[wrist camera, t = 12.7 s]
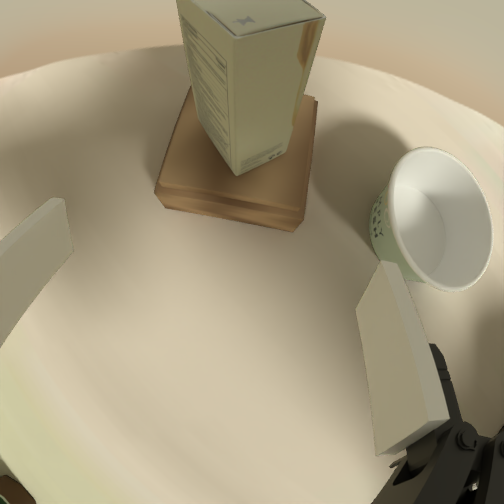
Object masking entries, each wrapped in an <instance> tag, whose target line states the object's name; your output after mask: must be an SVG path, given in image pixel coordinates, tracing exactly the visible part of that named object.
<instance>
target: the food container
mask: <svg viewBox="0 0 504 504" xmlns="http://www.w3.org/2000/svg"><path fill="white" fill-rule="evenodd" d="M369 232H370V238H371V242H372V246H373V248H374V251H375V253H376V255H377V257H378V258H379V260H384V261H388V262H393V263H397V264H398V267H399V269H400V271H401V273H402V276H403V278H404V279H407V280H412V281H418V282H423V283H427V284H429V285H431V286H432V287H434V288H436V289H439V290H442V291H446V292H458V291H462V290H465V289H467V288H469V287H471V286H472V285H474V284H475V283H476V282H477V281H478V280H479V279H480V278H481V276H482V275H483V273H484V272H485V270H486V268H487V266H488V263H489V260H490V257H491V253H492V248H493V222H492V216H491V212H490V208H489V205H488V202H487V199H486V196H485V194H484V192H483V190H482V188H481V186H480V184H479V183H478V181H477V179H476V178H475V177H474V175H473V174H472V173H471V171H470V170H469V169H468V168H467V167H466V166H465V165H464V164H463V163H462V162H461V161H460V160H459V159H457V158H456V157H455V156H453V155H451V154H450V153H448V152H446V151H444V150H441V149H438V148H434V147H419V148H415V149H413V150H410V151H409V152H407V153H406V154H404V155H403V156H402V157H401V158H400V159H399V161H398V162H397V163H396V165H395V167H394V169H393V171H392V174H391V177H390V181H389V183H388V185H387V186H386V187H385V189H384V190H383V192H382V193H381V194H380V196H379V197H378V199H377V200H376V202H375V203H374V205H373V207H372V210H371V214H370V219H369Z"/></svg>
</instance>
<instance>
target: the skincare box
mask: <svg viewBox="0 0 504 504" xmlns="http://www.w3.org/2000/svg"><path fill="white" fill-rule="evenodd" d="M176 2H177V8H178V14H179V19H180V25H181V31H182V37H183V43H184V48H185V54H186V59H187V64H188V70H189V75H190V80H191V85H192V91H193V96H194V101H195V106H196V111H197V116H198V119H199V121H200V123H201V125H202V126H203V128H204V129H205V131H206V133H207V134H208V136H209V137H210V139H211V141H212V142H213V144H214V145H215V147H216V148H217V150H218V151H219V153H220V154H221V156H222V157H223V159H224V160H225V162H226V163H227V164H228V166H229V167H230V169H231V170H232V171H233V173H234V174H235V176H239V175H241V174H243V173H245V172H247V171H249V170H252V169H254V168H256V167H258V166H260V165H262V164H264V163H266V162H268V161H270V160H272V159H274V158H276V157H278V156H280V155H282V154H284V153H285V152H286V150H287V147H288V144H289V140H290V137H291V134H292V131H293V127H294V124H295V121H296V117H297V114H298V110H299V107H300V104H301V101H302V97H303V94H304V90H305V87H306V84H307V81H308V77H309V74H310V70H311V67H312V64H313V60H314V57H315V53H316V50H317V47H318V43H319V40H320V37H321V33H322V30H323V26H324V23H325V20H326V16H325V15H324V14H322V13H321V12H320V11H319V10H318V9H316V8H315V7H314V6H312V5H311V4H310V3H308V2H307V1H306V0H176Z"/></svg>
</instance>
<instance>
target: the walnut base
mask: <svg viewBox="0 0 504 504" xmlns="http://www.w3.org/2000/svg"><path fill="white" fill-rule="evenodd" d="M314 98H315V97H312V96H308V95H304V94H303V97H302V101H301V104H300V107H299V110H298V114H297V117H296V121H295V124H294V127H293V131H292V134H291V137H290V140H289V144H288V147H287V150H286V152H285V153H284V154H282V155H280V156H278V157H276V158H274V159H272V160H270V161H268V162H266V163H264V164H262V165H260V166H258V167H256V168H254V169H252V170H249V171H247V172H245V173H243V174H241V175H239V176H235V174H234V173H233V171H232V170H231V169H230V167H229V166H228V164H227V163H226V162H225V160H224V159H223V157H222V156H221V154H220V153H219V151H218V150H217V148H216V147H215V145H214V144H213V142H212V141H211V139H210V137H209V136H208V134H207V133H206V131H205V129H204V128H203V126H202V125H201V123H200V121H199V119H198V116H197V111H196V106H195V101H194V96H193V91H192V85H191V86H190V89H189V91H188V94H187V96H186V99H185V101H184V104H183V106H182V109H181V112H180V114H179V117H178V120H177V123H176V125H175V128H174V131H173V134H172V137H171V139H170V142H169V145H168V148H167V151H166V154H165V157H164V160H163V164H162V167H161V170H160V173H159V176H158V180H157V183H156V186H155V190H154V193H155V194H156V196H157V197H158V199H159V200H160V201H161V203H162V204H163V205H164V207H165V208H167V209H173V210H179V211H185V212H190V213H196V214H201V215H207V216H212V217H218V218H223V219H228V220H234V221H239V222H244V223H249V224H254V225H259V226H265V227H270V228H275V229H280V230H285V231H290V232H293V231H294V230H295V229H296V228H297V227H298V226H299V225H300V223H301V222H302V221H303V220H304V214H305V207H306V199H307V192H308V184H309V177H310V169H311V161H312V152H313V143H314V135H315V125H316V116H317V105H318V101H315V100H314Z"/></svg>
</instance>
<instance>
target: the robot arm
mask: <svg viewBox="0 0 504 504" xmlns="http://www.w3.org/2000/svg"><path fill="white" fill-rule="evenodd" d="M73 252H74V249H73V244H72V239H71V234H70V229H69V223H68V217H67V211H66V205H65V199H62V198H56V197H52V198H50V199H49V200H48V201H47V202H45V203H44V204H43V205H42V206H40V207H39V208H38V209H37V210H35V211H34V212H33V213H32V214H31V215H29V216H28V217H27V218H26V219H25V220H23V221H22V222H21V223H20V224H19V225H18V226H17V227H15V228H14V229H13V230H12V231H11V232H10V233H9V234H8V235H7V236H5V237H4V238H3V239H2V240H1V241H0V348H1V346H2V345H3V343H4V342H5V340H6V338H7V337H8V335H9V334H10V333H11V331H12V330H13V328H14V327H15V325H16V324H17V322H18V321H19V320H20V318H21V317H22V315H23V314H24V313H25V311H26V310H27V309H28V307H29V306H30V304H31V303H32V302H33V300H34V299H35V298H36V297H37V295H38V294H39V293H40V291H41V290H42V289H43V288H44V286H45V285H46V284H47V283H48V281H49V280H50V279H51V278H52V276H53V275H54V274H55V273H56V272H57V270H58V269H59V268H60V267H61V266H62V264H63V263H64V262H65V261H66V260H67V259H68V258H69V256H70V255H71V254H72V253H73ZM355 311H356V316H357V321H358V327H359V332H360V338H361V343H362V349H363V355H364V361H365V367H366V374H367V381H368V388H369V396H370V403H371V412H372V421H373V431H374V441H375V454H376V456H383V455H394V454H397V453H399V452H400V451H402V450H404V449H405V448H406V451H407V455H406V456H404V457H402V458H401V459H399V460H397V461H395V462H393V463H392V464H391V465H390V466H389V467H390V468H393V467H395V466H397V465H398V466H397V468H396V469H395V470H394V473H393V474H392V476H391V477H390V479H389V480H388V481H387V483H386V484H385V486H384V487H383V489H382V490H381V491H380V493H379V494H378V495H377V497H376V498H375V499H374V501H373V502H372V503H371V504H504V427H503V428H502V429H501V431H500V432H499V434H498V435H496V436H495V437H493V438H488V437H483V436H479V435H478V434H477V432H476V430H475V428H474V427H473V426H472V425H471V424H469V423H467V422H463V421H462V418H461V414H460V410H459V406H458V403H457V399H456V395H455V392H454V388H453V385H452V381H450V379H451V378H450V375H449V372H448V371H447V366H446V362H445V359H444V356H443V355H442V353H441V352H440V350H439V349H438V347H437V346H436V345H435V344H430V343H428V340H427V337H426V335H425V332H424V329H423V326H422V323H421V321H420V318H419V315H418V313H417V310H416V307H415V305H414V302H413V300H412V297H411V295H410V292H409V290H408V288H407V285H406V283H405V280H404V278H403V276H402V273H401V271H400V269H399V267H398V264H397V263H393V262H388V261H384V260H380V263H379V265H378V267H377V269H376V271H375V273H374V275H373V277H372V279H371V281H370V283H369V284H368V286H367V288H366V290H365V292H364V294H363V296H362V298H361V300H360V302H359V303H358V305H357V307H356V309H355ZM476 482H477V486H478V488H477V489H476V490H472V485H473V484H474V483H476Z"/></svg>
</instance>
